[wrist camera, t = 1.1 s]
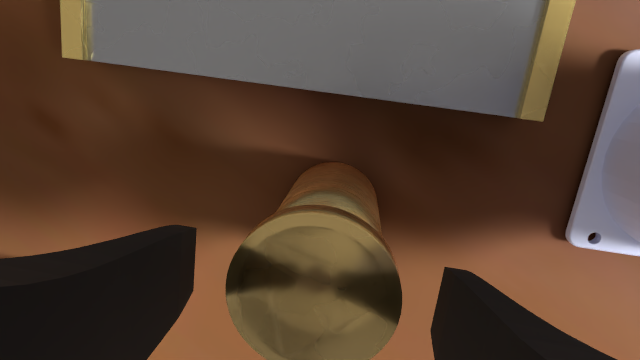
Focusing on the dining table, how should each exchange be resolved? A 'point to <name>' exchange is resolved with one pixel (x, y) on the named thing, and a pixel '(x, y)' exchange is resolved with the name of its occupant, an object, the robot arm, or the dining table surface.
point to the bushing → (317, 273)
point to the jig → (341, 46)
